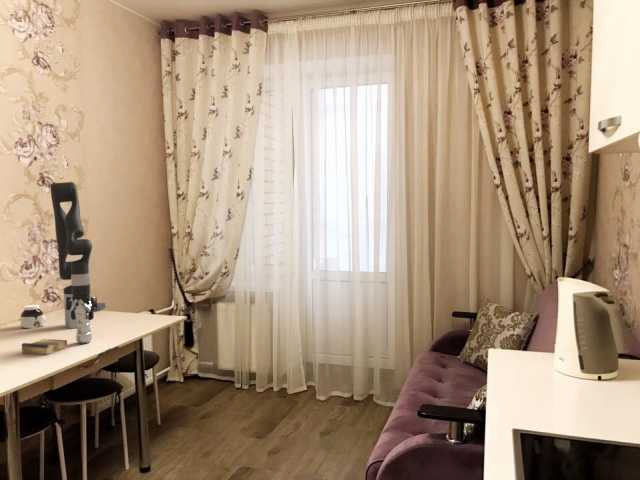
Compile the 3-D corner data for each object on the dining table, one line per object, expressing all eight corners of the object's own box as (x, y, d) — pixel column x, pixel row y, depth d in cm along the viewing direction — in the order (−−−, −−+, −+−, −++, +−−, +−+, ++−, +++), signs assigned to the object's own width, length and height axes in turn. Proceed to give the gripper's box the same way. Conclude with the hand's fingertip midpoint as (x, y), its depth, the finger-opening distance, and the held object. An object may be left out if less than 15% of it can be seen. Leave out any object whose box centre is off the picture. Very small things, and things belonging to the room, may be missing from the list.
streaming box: (107, 310, 298) (106, 302, 297) (98, 315, 285) (97, 307, 285) (85, 310, 297) (85, 303, 297) (75, 315, 285) (75, 307, 284)
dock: (43, 345, 221) (43, 336, 220) (67, 346, 218) (66, 337, 218) (22, 353, 209) (21, 343, 209) (46, 355, 206) (46, 345, 206)
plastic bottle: (95, 341, 227) (93, 298, 225) (84, 345, 220) (82, 300, 219) (84, 340, 229) (82, 297, 227) (72, 344, 222) (70, 300, 221)
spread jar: (23, 331, 247) (21, 308, 246) (18, 327, 256) (17, 305, 255) (49, 327, 255) (48, 305, 254) (44, 323, 263) (43, 302, 263)
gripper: (100, 282, 225) (101, 318, 225) (72, 282, 228) (74, 317, 229) (89, 285, 217) (90, 321, 218) (60, 284, 220) (62, 321, 221)
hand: (82, 319), depth 223 cm, fingers open, 8 cm apart
